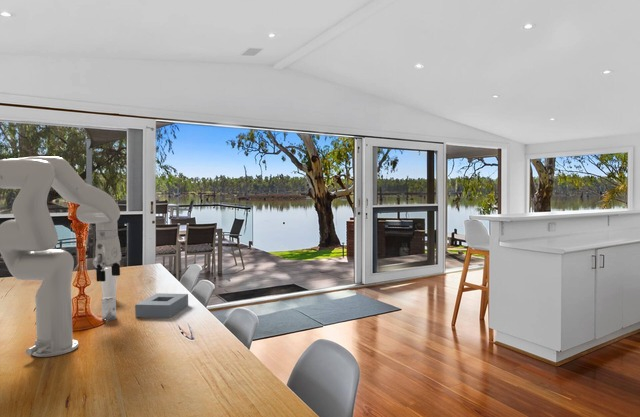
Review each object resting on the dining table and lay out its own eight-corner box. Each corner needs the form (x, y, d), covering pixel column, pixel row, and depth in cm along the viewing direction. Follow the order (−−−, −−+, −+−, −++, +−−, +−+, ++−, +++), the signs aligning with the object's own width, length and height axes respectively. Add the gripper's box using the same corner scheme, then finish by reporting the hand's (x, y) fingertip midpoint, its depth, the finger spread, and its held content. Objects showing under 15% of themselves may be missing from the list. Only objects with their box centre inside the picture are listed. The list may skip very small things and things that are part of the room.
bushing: (111, 321, 164) (111, 300, 164) (99, 320, 164) (98, 299, 164) (119, 317, 169) (118, 296, 169) (107, 316, 169) (106, 296, 169)
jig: (169, 317, 167) (169, 305, 167) (135, 317, 169) (135, 304, 169) (188, 305, 185) (188, 293, 185) (157, 304, 187) (156, 293, 186)
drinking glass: (111, 302, 190) (110, 269, 189) (97, 302, 191) (96, 268, 191) (121, 299, 197) (120, 266, 196) (108, 298, 198) (107, 266, 197)
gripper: (102, 237, 156) (104, 283, 157) (128, 231, 173) (129, 273, 175) (83, 237, 157) (85, 283, 158) (110, 231, 174) (112, 273, 175)
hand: (108, 278), depth 166 cm, fingers open, 9 cm apart
